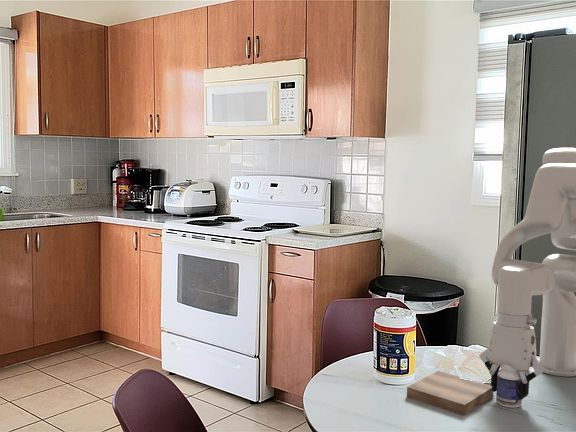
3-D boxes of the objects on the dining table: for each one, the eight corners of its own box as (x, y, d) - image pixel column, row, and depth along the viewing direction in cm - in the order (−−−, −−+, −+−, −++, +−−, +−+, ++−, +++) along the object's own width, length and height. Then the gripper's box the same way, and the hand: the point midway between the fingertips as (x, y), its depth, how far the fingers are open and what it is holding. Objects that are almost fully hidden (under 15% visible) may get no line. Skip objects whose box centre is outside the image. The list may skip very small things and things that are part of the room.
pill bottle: (523, 409, 145) (525, 368, 144) (497, 407, 146) (499, 366, 145) (519, 399, 151) (521, 359, 150) (494, 397, 152) (496, 357, 151)
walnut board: (437, 380, 163) (438, 370, 163) (493, 396, 153) (493, 386, 153) (406, 396, 152) (407, 386, 152) (464, 415, 142) (464, 404, 142)
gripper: (556, 323, 143) (552, 399, 145) (485, 309, 155) (481, 380, 157) (544, 330, 138) (539, 409, 140) (471, 315, 149) (467, 388, 151)
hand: (509, 393), depth 148 cm, fingers closed on pill bottle, 5 cm apart
